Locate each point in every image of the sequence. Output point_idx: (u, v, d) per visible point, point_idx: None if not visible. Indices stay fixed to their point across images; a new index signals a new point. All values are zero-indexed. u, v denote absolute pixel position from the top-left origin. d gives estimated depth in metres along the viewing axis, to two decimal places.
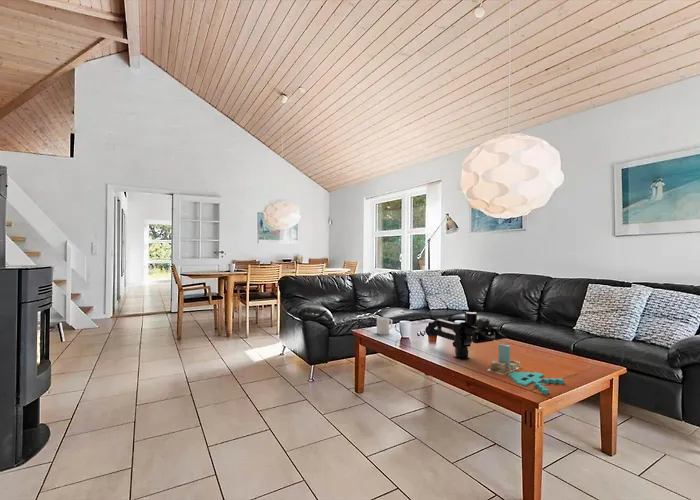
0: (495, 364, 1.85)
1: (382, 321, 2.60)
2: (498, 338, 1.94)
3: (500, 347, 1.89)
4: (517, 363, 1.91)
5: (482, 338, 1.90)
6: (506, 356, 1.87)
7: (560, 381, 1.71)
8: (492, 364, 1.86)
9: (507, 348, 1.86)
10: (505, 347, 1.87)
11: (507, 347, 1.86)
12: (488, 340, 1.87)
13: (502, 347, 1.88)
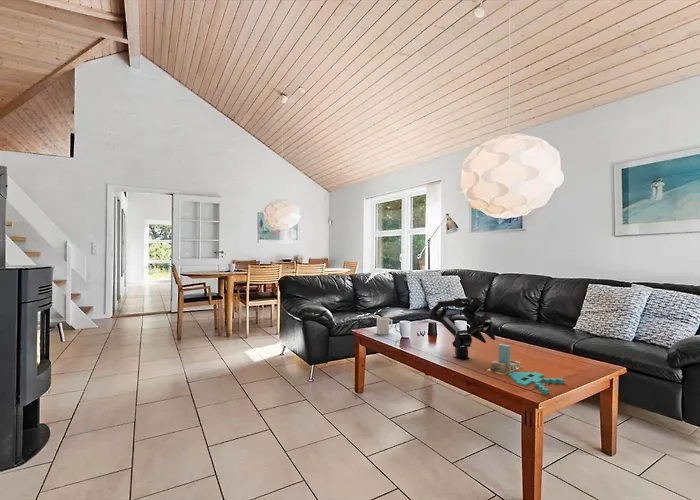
0: (495, 364, 1.85)
1: (382, 321, 2.60)
2: (487, 334, 2.01)
3: (500, 347, 1.89)
4: (517, 363, 1.91)
5: (476, 334, 1.94)
6: (506, 356, 1.87)
7: (560, 381, 1.71)
8: (492, 364, 1.86)
9: (507, 348, 1.86)
10: (505, 347, 1.87)
11: (507, 347, 1.86)
12: (480, 339, 1.93)
13: (502, 347, 1.88)
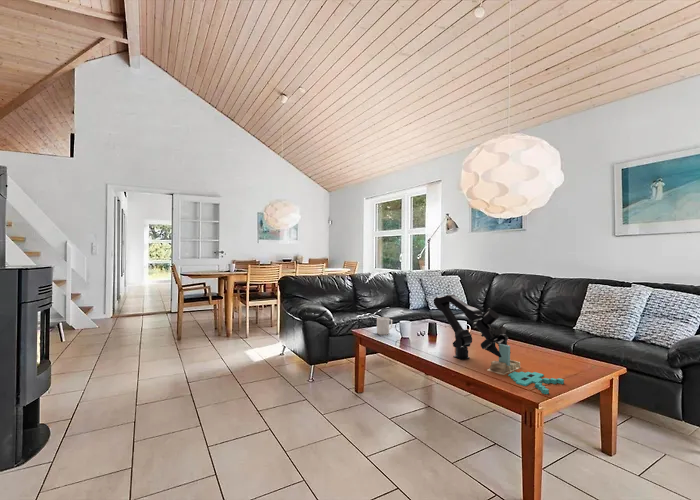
0: (495, 364, 1.85)
1: (382, 321, 2.60)
2: None
3: (500, 347, 1.89)
4: (517, 363, 1.91)
5: (491, 348, 1.88)
6: (506, 356, 1.87)
7: (560, 381, 1.71)
8: (492, 364, 1.86)
9: (507, 348, 1.86)
10: (505, 347, 1.87)
11: (507, 347, 1.86)
12: (495, 353, 1.86)
13: (502, 347, 1.88)
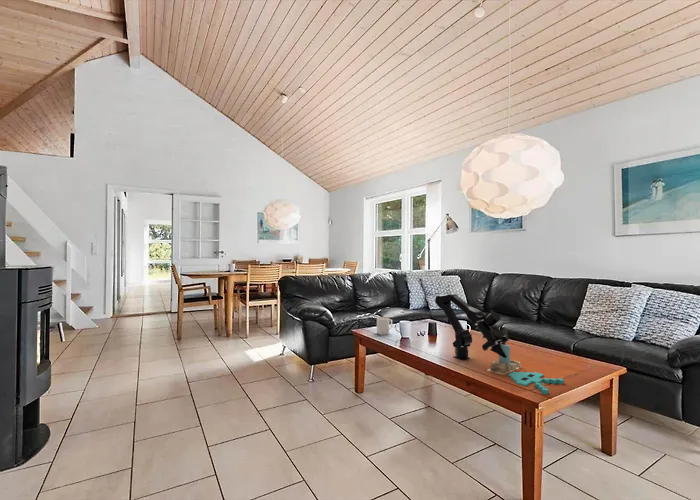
0: (495, 364, 1.85)
1: (382, 321, 2.60)
2: None
3: None
4: (517, 363, 1.91)
5: (496, 348, 1.89)
6: (506, 356, 1.87)
7: (560, 381, 1.71)
8: (492, 364, 1.86)
9: (507, 348, 1.86)
10: (505, 347, 1.87)
11: (507, 347, 1.86)
12: (500, 354, 1.88)
13: (502, 347, 1.88)
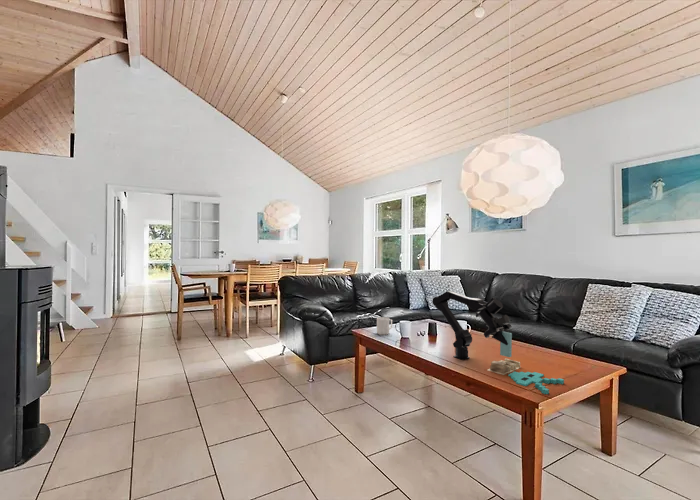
0: (495, 364, 1.85)
1: (382, 321, 2.60)
2: None
3: (502, 334, 1.90)
4: (517, 363, 1.91)
5: (498, 335, 1.90)
6: (508, 343, 1.87)
7: (560, 381, 1.71)
8: (492, 364, 1.86)
9: (509, 335, 1.87)
10: (507, 334, 1.88)
11: (509, 334, 1.87)
12: (502, 341, 1.89)
13: (504, 334, 1.89)
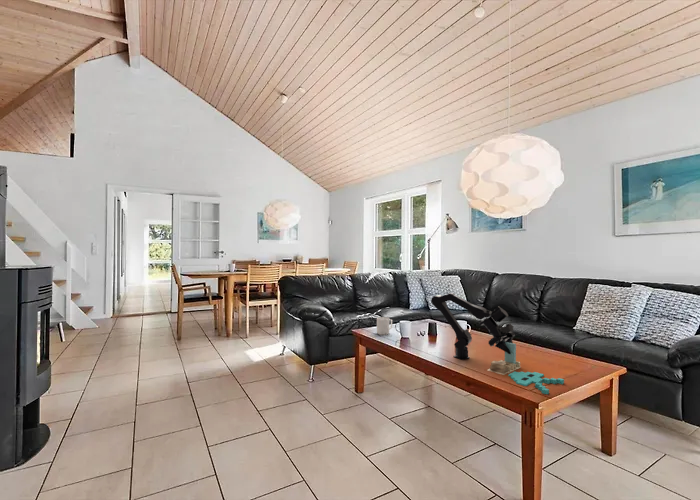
0: (495, 364, 1.85)
1: (382, 321, 2.60)
2: None
3: None
4: (517, 363, 1.91)
5: (501, 344, 1.92)
6: (512, 354, 1.91)
7: (560, 381, 1.71)
8: (492, 364, 1.86)
9: (513, 346, 1.90)
10: (511, 345, 1.91)
11: (513, 345, 1.90)
12: (505, 350, 1.91)
13: (508, 345, 1.92)
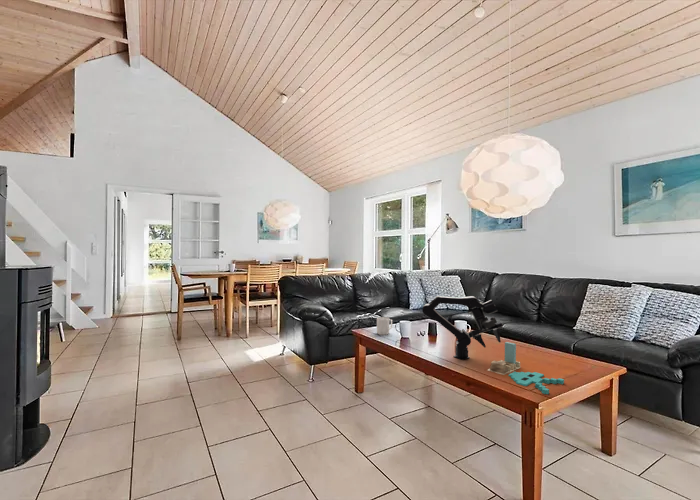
0: (495, 364, 1.85)
1: (382, 321, 2.60)
2: (495, 335, 2.04)
3: (506, 345, 1.93)
4: (517, 363, 1.91)
5: (478, 337, 2.01)
6: (512, 354, 1.91)
7: (560, 381, 1.71)
8: (492, 364, 1.86)
9: (513, 346, 1.90)
10: (511, 345, 1.91)
11: (513, 345, 1.90)
12: (481, 343, 2.00)
13: (508, 345, 1.92)
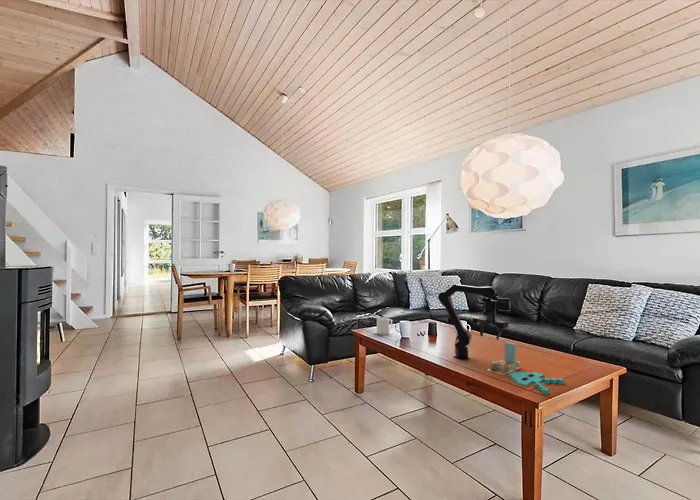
0: (495, 364, 1.85)
1: (382, 321, 2.60)
2: None
3: (506, 345, 1.93)
4: (517, 363, 1.91)
5: None
6: (512, 354, 1.91)
7: (560, 381, 1.71)
8: (492, 364, 1.86)
9: (513, 346, 1.90)
10: (511, 345, 1.91)
11: (513, 345, 1.90)
12: None
13: (508, 345, 1.92)
